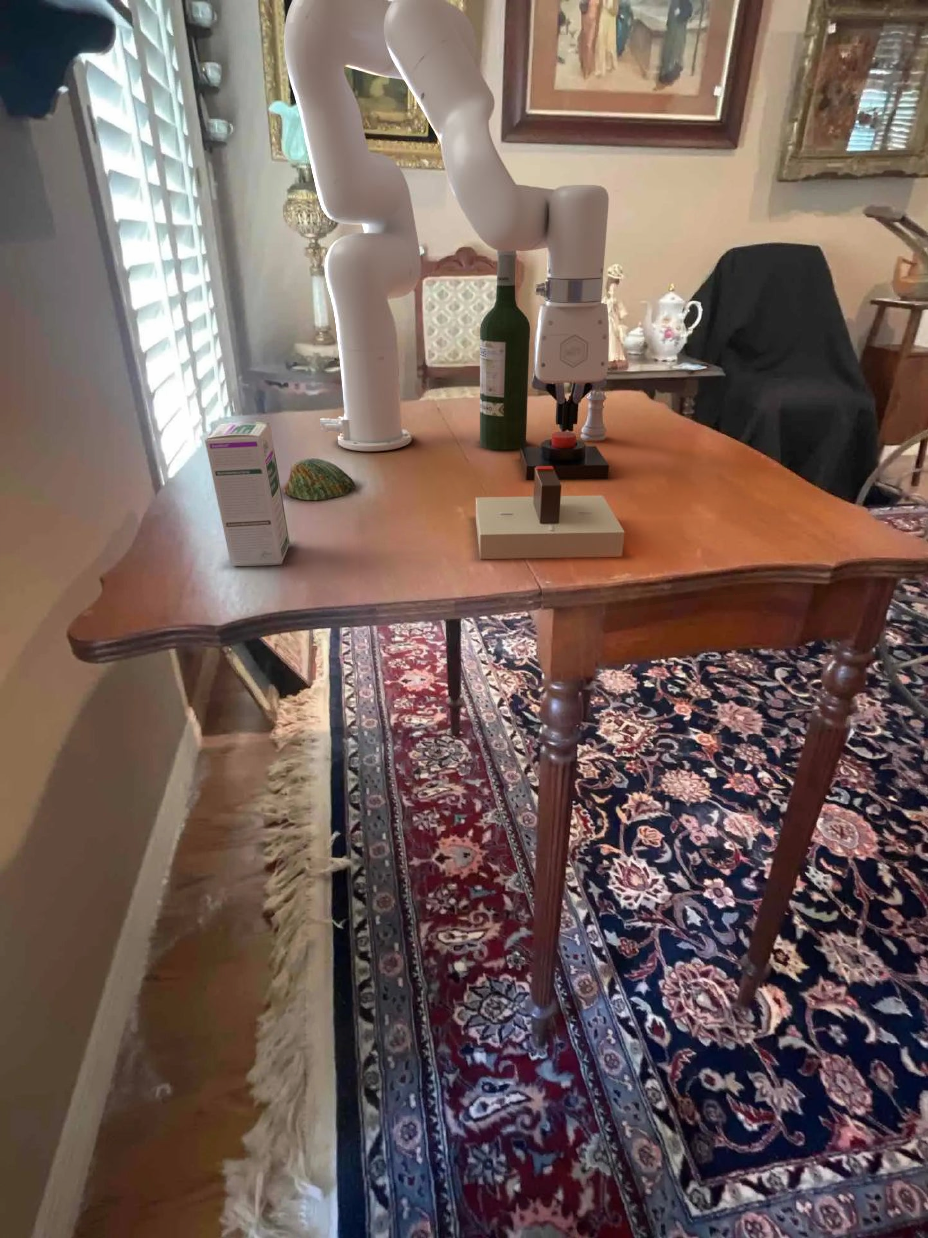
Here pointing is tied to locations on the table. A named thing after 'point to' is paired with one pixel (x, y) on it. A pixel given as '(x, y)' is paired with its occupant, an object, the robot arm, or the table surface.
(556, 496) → the handle
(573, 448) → the button block
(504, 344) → the wine bottle
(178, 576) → the table surface
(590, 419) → the rook chess piece
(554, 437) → the button
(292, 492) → the seashell
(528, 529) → the panel
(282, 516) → the syrup box
